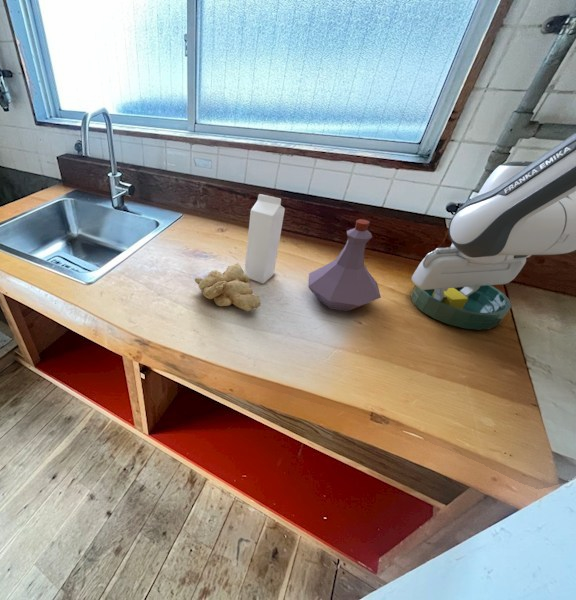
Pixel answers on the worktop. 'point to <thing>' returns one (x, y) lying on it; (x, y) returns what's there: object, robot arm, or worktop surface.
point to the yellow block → (454, 298)
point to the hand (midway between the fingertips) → (448, 300)
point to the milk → (263, 238)
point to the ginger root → (229, 288)
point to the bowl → (466, 308)
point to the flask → (346, 274)
